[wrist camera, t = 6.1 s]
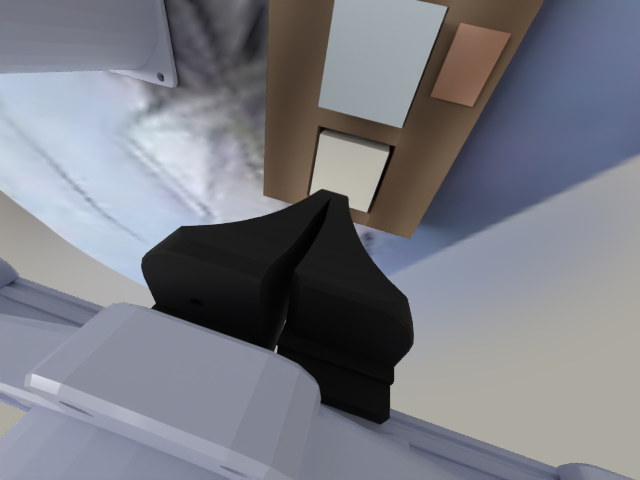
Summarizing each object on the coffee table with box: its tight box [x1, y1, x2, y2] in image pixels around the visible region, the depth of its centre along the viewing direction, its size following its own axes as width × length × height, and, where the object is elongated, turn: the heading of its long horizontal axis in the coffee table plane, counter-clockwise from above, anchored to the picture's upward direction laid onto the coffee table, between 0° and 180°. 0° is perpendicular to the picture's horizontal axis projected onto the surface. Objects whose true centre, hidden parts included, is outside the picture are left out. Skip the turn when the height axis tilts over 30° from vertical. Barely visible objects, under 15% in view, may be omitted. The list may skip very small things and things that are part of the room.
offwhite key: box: [310, 128, 389, 212], centre depth 15 cm, size 4×4×3 cm
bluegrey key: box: [318, 0, 447, 128], centre depth 11 cm, size 4×4×3 cm
